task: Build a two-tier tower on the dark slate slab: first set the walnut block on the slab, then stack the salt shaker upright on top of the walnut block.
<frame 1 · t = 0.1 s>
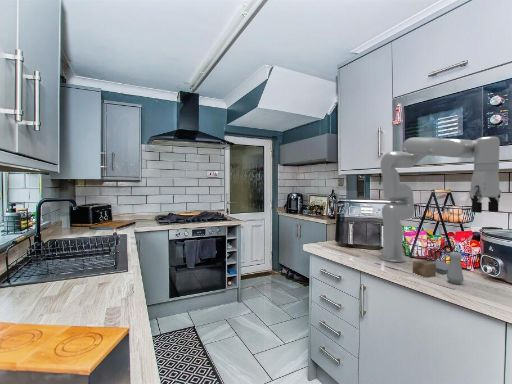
hand: (485, 211, 106), 31 cm above the worktop, fingers open, 9 cm apart
salt shaker: (454, 283, 114), on the worktop
walnut block: (423, 274, 124), on the worktop
slab: (440, 269, 132), on the worktop
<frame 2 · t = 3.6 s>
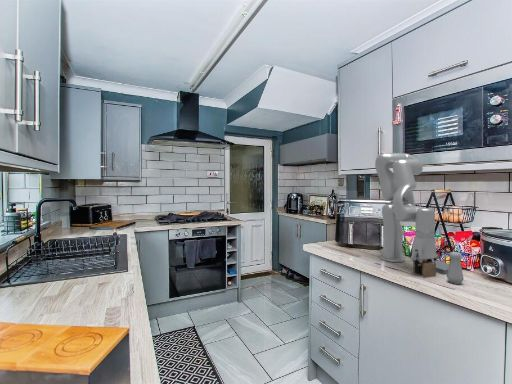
hand: (424, 272, 124), 1 cm above the worktop, fingers closed on walnut block, 6 cm apart
walnut block: (424, 274, 124), on the worktop, touching gripper
everything else where it was.
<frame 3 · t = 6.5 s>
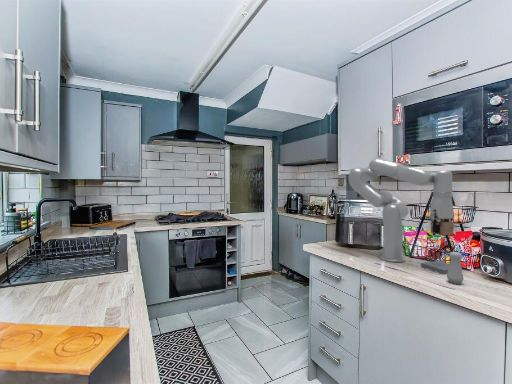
hand: (441, 231, 132), 19 cm above the worktop, fingers closed on walnut block, 6 cm apart
walnut block: (441, 233, 131), point 18 cm above the worktop, touching gripper
everything else where it was.
when the fingers open (4 cm above the worktop, at t = 9.6 s): walnut block stays where it is, resting on slab.
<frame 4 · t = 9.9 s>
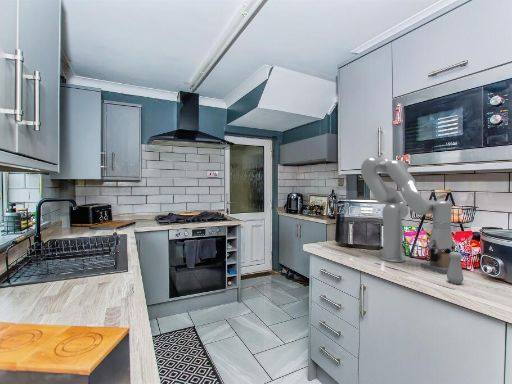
hand: (441, 260, 132), 4 cm above the worktop, fingers open, 9 cm apart
walnut block: (440, 265, 132), point 2 cm above the worktop, touching slab
everything else where it was.
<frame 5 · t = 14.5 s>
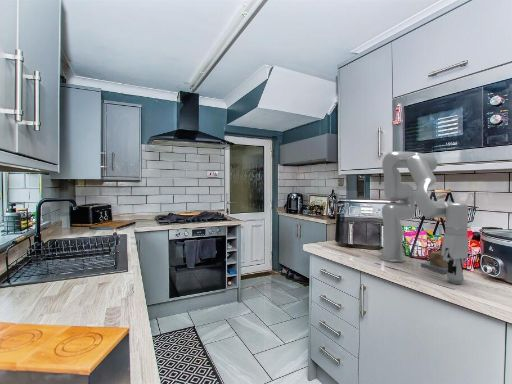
hand: (455, 274, 114), 4 cm above the worktop, fingers closed on salt shaker, 3 cm apart
salt shaker: (454, 283, 114), on the worktop, touching gripper
everything else where it was.
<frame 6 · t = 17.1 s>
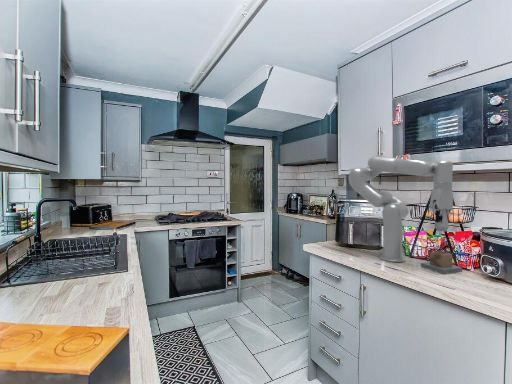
hand: (441, 223, 131), 23 cm above the worktop, fingers closed on salt shaker, 3 cm apart
salt shaker: (441, 231, 132), point 19 cm above the worktop, touching gripper
everything else where it was.
when the fingers open (12 cm above the worktop, at t = 19.7 s): salt shaker stays where it is, resting on walnut block.
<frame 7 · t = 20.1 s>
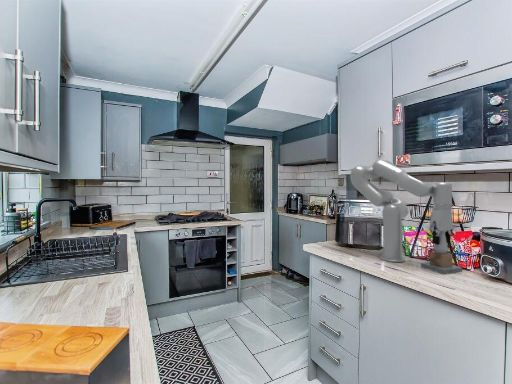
hand: (441, 243, 132), 13 cm above the worktop, fingers open, 6 cm apart
salt shaker: (440, 253, 132), point 8 cm above the worktop, touching walnut block
walnut block: (440, 265, 132), point 2 cm above the worktop, touching salt shaker, slab
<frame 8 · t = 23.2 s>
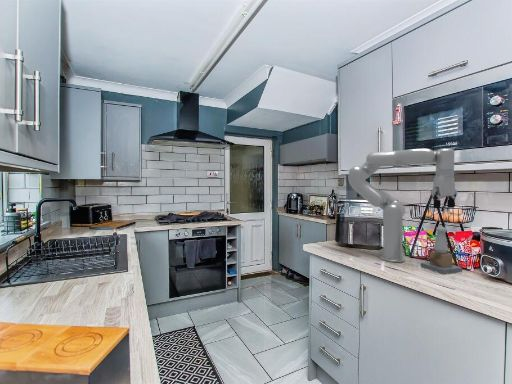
hand: (443, 207, 134), 30 cm above the worktop, fingers open, 9 cm apart
nothing on the worktop moved.
at the end: walnut block inside the target area on the slab (0.0 cm from its centre), point 2.0 cm above the slab's base; salt shaker 0.1 cm off-centre on the walnut block, point 5.8 cm above the walnut block's base; salt shaker tilted 0° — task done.
